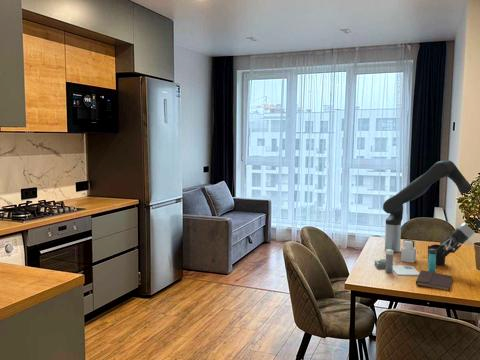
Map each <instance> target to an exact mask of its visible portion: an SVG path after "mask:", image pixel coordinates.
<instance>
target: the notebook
mask: <svg viewBox="0 0 480 360" xmlns="http://www.w3.org/2000/svg"><path fill="white" fill-rule="evenodd" d="M419 273H420V274H419V276H417V278H416V280H415V285H417V286H421V287H427V288H433V289H438V290H443V291H448V292H449V291H451V288H452V281H453V275H449V274H444V273H438V272H435V273H432V272H429V271H428V270H423V269H420V271H419Z"/></svg>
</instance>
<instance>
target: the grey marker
mask: <svg viewBox="0 0 480 360" xmlns="http://www.w3.org/2000/svg"><path fill="white" fill-rule="evenodd" d="M385 259H386V269H384V270H385V273H386V274H393V272H394V271H393V266H394V252H393V250H391V249H386V250H385Z"/></svg>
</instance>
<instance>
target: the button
mask: <svg viewBox="0 0 480 360" xmlns="http://www.w3.org/2000/svg"><path fill="white" fill-rule="evenodd" d="M379 261H380V263H385V261H386V258H383V257H381V258H379Z"/></svg>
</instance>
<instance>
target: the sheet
mask: <svg viewBox="0 0 480 360" xmlns="http://www.w3.org/2000/svg"><path fill="white" fill-rule="evenodd" d="M393 272H394V273H395V274H396V275H397V276H404V277H405V276H406V277H407V276H411V277H412V276H414V277H418V276H419V274H420V271H418V270H417V269H416V268H415V267H414V266H412V265H393Z"/></svg>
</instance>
